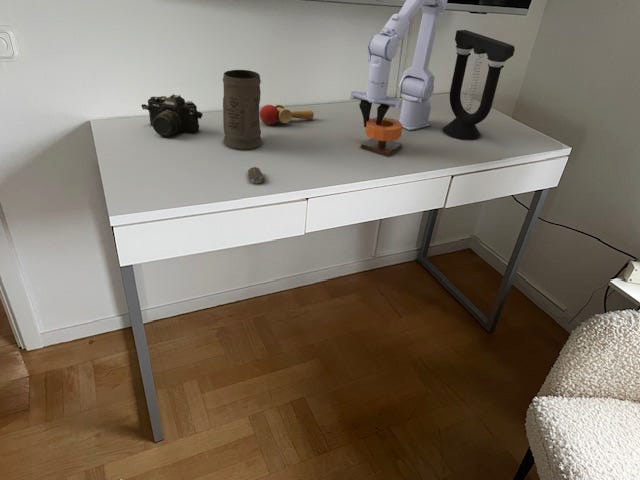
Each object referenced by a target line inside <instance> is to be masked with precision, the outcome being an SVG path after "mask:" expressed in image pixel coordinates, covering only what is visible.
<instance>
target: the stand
mask: <svg viewBox="0 0 640 480" xmlns="http://www.w3.org/2000/svg"><path fill="white" fill-rule="evenodd" d="M382 126H383V127H388V126H385V125H382ZM402 147H403V143H401V142H398V141H396V140H394V141H380V140H375V139H372V138H370V139H368V140H366V141H364V142H362V143H361V144H360V148H361V149H363V150H366V151H370V152H372V153H376V154H379V155H382V156H385V157H389V156H391V155H393V154H394V153H395V152H397V151H399V150H400V149H401V148H402Z"/></svg>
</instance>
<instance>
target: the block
mask: <svg viewBox="0 0 640 480" xmlns="http://www.w3.org/2000/svg"><path fill="white" fill-rule="evenodd" d="M247 173H248V178H249V182H250V184H254V185H255V184H256V185H257V184H261V183H263V182H265V180H266V179H265V178H266V177H265V176H264V174H263V172H262V171H261V169H260V168H259V167H256V166H253V167H250V168H249V169H248V170H247Z"/></svg>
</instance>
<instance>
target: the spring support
mask: <svg viewBox="0 0 640 480" xmlns="http://www.w3.org/2000/svg"><path fill="white" fill-rule="evenodd" d="M454 41H455V44H456V46H455V49H456V60H455V64H454V69H453V74H452V78H451V79H452V80H451V85H450V88H449V104H450V109H451V112H452V113H453V115H454V116H455V118H454V119H453V120H451V121H450V122H449V123H447V125H445V126H444V127H443V128H442V132H443V134H445V135H446V136H448V137H450V138H453V139H458V140H463V141H472V140H477V139H479V138H480V137H481V133H480V131H479V129H478V127H477V125H478V124H479V123H481V122H483V121H484V120H485V119H486V118H487V117H488V116H489V114H490V112H491V110H492V107H493V103H494V98H495V95H496V91H497V87H498V83H499V79H500V76H501V72H502V69H503V68H504V67H505V66H504V63H506V61H508V60H509V59H511V58H512V57H513V56H514V53H515V51H516V50H515V49H516V48H515V45H513V44H510V43H507V42H504V41H501V40H498V39H495V38H491V37H489V36H486V35H482V34H480V33H476V32H474V31H471V30H468V29H458V30H456V31H455V36H454ZM471 51H473V53H474V54H475V55H478V58H476V59H475V62H474V66H473V71H472V75H471V80H470V83H469V88H468V91H467V92H468V93H467V96H466V98H467V99H466V101H465V105H464V107H463V104H462V97H461V95H462V94H461V92H462V88H463V83H464V80H465V79H464V78H465V75H466V70H467V64H468V60H469V57H470V56H471ZM485 54H486V56H487V66H488V70H487V75H486V79H485V82H484V88H483V91H482V94H481V95H482V96H481V100H480V103H479V106H478V108H477V110H476V111H475V112H473V113H470V112H469V111H471V109H472V107H471V106H473V104H472V103H473V101H474V98H475V96H474V95H475V93H476V89H477V88H476V87H477V84H478V79H479V76H480V72H481V67H482V65H481V64H482V63H483V62H482V61H479V60H480V59H482V58H483V57H484V55H485Z"/></svg>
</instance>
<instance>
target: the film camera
mask: <svg viewBox="0 0 640 480" xmlns="http://www.w3.org/2000/svg"><path fill="white" fill-rule="evenodd" d="M140 106H141V109H142V110H147V111H148V114H149V123H150V126H152V128H153V130H154V131H155V133H157V135H159V136H160V137H163V138H166V137H170V136H173V135H176V134H182V133H184V132H185V133H190V134H196V133H198V132H199V129H200V125H199V120H201V119H202V117H203V113H202V112H201V111H198V107H197V104H195V103H194V102H193V101H189V100H188V101H186V100H185V98H184V97H182V96H181V95H180V94H178V95H176V94H174V93H173V94H171V95H169V96H165V95H161V96H150V98H149V99H147V104H145V103H144V104H141V105H140Z"/></svg>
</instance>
